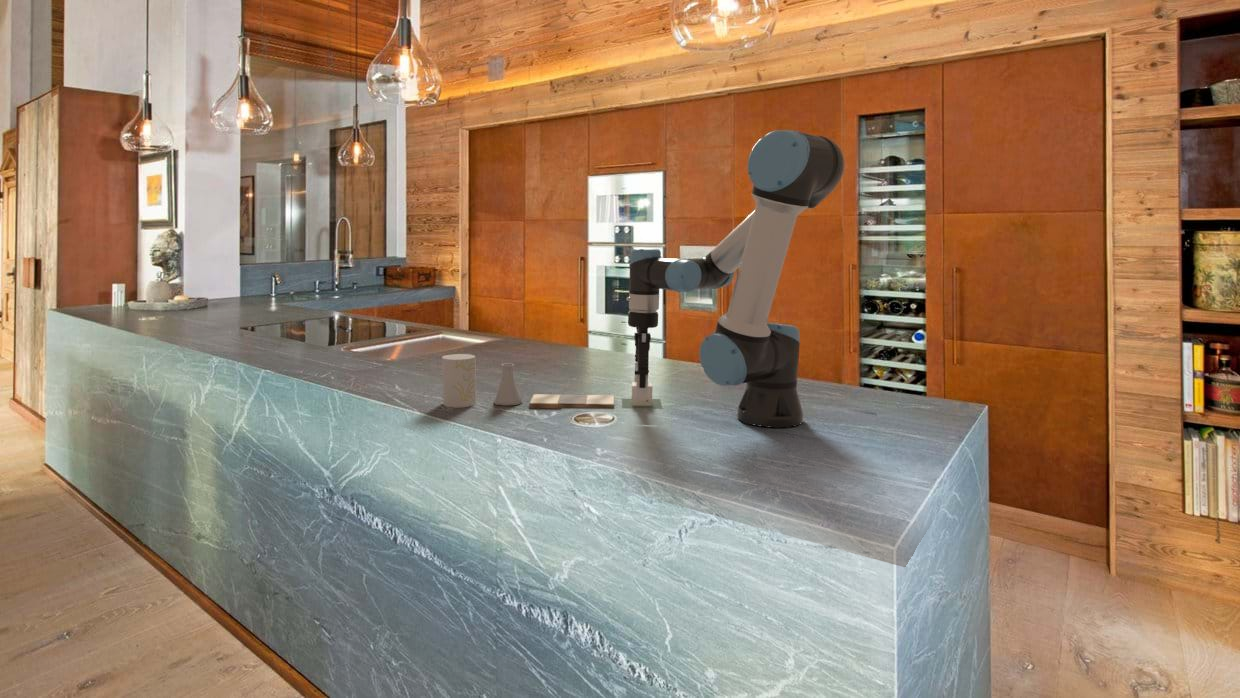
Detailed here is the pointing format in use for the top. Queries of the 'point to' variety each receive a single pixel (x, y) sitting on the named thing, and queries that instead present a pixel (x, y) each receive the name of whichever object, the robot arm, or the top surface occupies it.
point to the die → (641, 402)
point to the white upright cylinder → (459, 380)
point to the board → (571, 401)
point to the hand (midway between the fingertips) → (640, 393)
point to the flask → (507, 388)
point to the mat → (628, 404)
